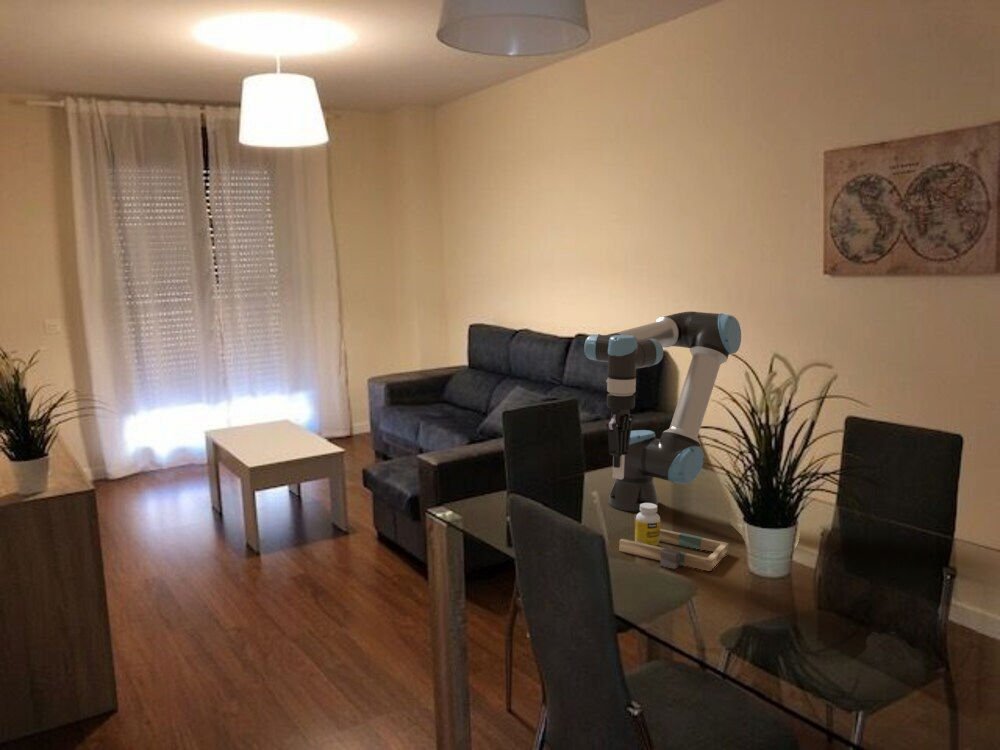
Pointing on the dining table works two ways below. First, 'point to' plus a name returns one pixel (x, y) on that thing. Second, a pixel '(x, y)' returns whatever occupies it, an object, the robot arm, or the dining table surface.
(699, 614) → the dining table surface
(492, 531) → the dining table surface
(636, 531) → the pill bottle
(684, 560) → the beam track
